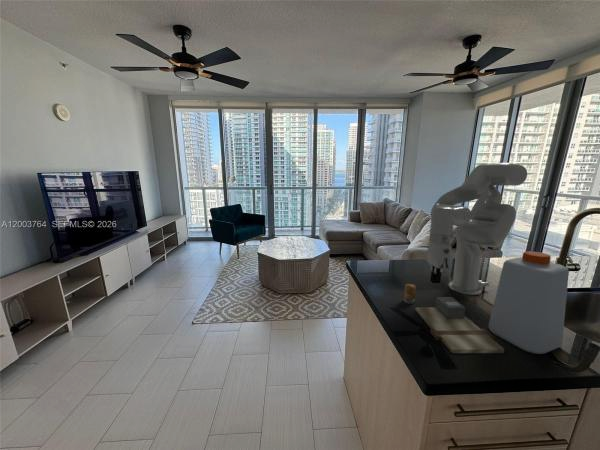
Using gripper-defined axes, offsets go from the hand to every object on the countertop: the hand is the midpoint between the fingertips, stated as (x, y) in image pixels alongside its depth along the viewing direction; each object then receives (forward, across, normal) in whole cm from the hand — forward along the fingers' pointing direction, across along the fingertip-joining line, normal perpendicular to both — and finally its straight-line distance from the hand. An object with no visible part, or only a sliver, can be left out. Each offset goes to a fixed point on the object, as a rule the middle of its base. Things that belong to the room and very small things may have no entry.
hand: (435, 282), depth 100 cm
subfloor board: (+10, -17, +2) cm, 20 cm away
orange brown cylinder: (+9, +2, +9) cm, 13 cm away
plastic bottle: (+9, -22, -17) cm, 30 cm away
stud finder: (+8, -9, -1) cm, 12 cm away
